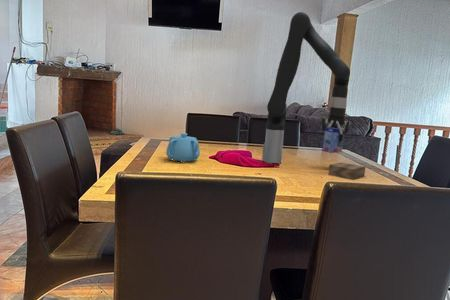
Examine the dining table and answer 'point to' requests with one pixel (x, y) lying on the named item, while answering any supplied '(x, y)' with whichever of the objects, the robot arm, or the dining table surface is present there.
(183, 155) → the decorative pot
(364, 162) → the dining table surface
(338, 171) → the walnut block
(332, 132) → the ink cartridge box
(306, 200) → the dining table surface
